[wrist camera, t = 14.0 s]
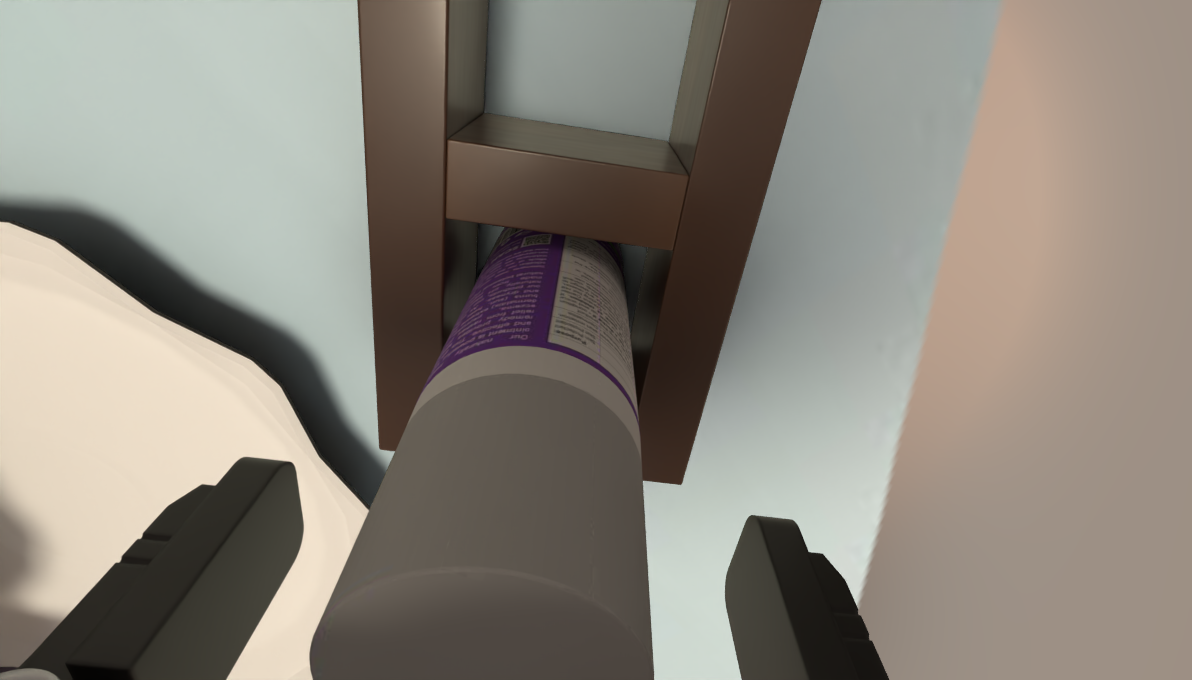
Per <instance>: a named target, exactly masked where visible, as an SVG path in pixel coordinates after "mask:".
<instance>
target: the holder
mask: <svg viewBox="0 0 1192 680" xmlns="http://www.w3.org/2000/svg"><path fill="white" fill-rule="evenodd" d="M821 1H822V0H697V2H696V7H695V12H694V17H693V22H692V27H691V32H690V37H689V42H688V47H687V52H686V57H685V62H684V67H683V72H682V77H681V83H680V88H679V93H678V98H677V103H676V108H675V113H674V118H673V123H672V128H671V133H670V138H669V142H668V141H662V140H656V139H650V138H643V137H637V136H630V135H624V134H617V133H611V132H604V131H598V130H591V129H585V128H578V127H572V126H566V125H559V124H553V123H546V122H540V121H533V120H527V119H520V118H514V117H507V116H501V115H494V114H488V113H484V114H483V111H484V90H485V68H486V47H487V26H488V4H489V0H357V2H358V22H359V43H360V63H361V84H362V104H363V125H364V146H365V166H366V187H367V207H368V228H369V248H370V269H371V289H372V310H373V330H374V351H375V372H376V392H377V413H378V433H379V448H380V449H381V450H388V451H396V449H397V447H398V444H399V442H400V440H401V438H402V435H403V433H404V431H405V428H406V426H407V424H408V422H409V419H410V417H411V415H412V412H413V410H414V408H415V405H416V403H417V400H418V398H419V396H420V394H421V392H422V390H423V388H424V386H425V384H426V382H427V380H428V378H429V376H430V374H431V372H432V370H433V368H434V366H435V364H436V362H437V360H438V358H439V356H440V354H441V352H442V350H443V348H444V346H445V344H446V342H447V340H448V338H449V336H450V334H451V332H452V330H453V328H454V326H455V324H456V322H457V320H458V318H459V316H460V314H461V312H462V310H463V308H464V306H465V304H466V302H467V300H468V298H469V296H470V294H471V292H472V290H473V288H474V286H475V282H476V260H477V239H478V223H481V224H488V225H495V226H502V227H509V228H516V229H523V230H530V231H537V232H544V233H551V234H558V235H565V236H572V237H579V238H586V239H593V240H600V241H607V242H614V243H621V244H628V245H635V246H642V247H648V249H647V254H646V259H645V264H644V269H643V274H642V279H641V284H640V289H639V294H638V299H637V304H636V309H635V314H634V319H633V325H632V330H631V335H630V339H631V349H632V359H633V369H634V378H635V388H636V398H637V408H638V418H639V428H640V438H641V461H642V479H643V481H652V482H660V483H669V484H678V485H681V484H682V482H683V478H684V475H685V471H686V468H687V464H688V461H689V457H690V454H691V451H692V447H693V444H694V440H695V437H696V433H697V430H698V426H699V423H700V419H701V416H702V413H703V409H704V406H705V402H706V399H707V395H708V392H709V388H710V385H711V381H712V378H713V375H714V371H715V368H716V364H717V361H718V357H719V354H720V350H721V347H722V343H723V340H724V336H725V333H726V330H727V326H728V323H729V319H730V316H731V312H732V309H733V305H734V302H735V298H736V295H737V292H738V288H739V285H740V281H741V278H742V274H743V271H744V267H745V264H746V260H747V257H748V254H749V250H750V247H751V243H752V240H753V236H754V233H755V229H756V226H757V222H758V219H759V215H760V212H761V209H762V205H763V202H764V198H765V195H766V191H767V188H768V184H769V181H770V177H771V174H772V171H773V167H774V164H775V160H776V157H777V153H778V150H779V146H780V143H781V139H782V136H783V133H784V129H785V126H786V122H787V119H788V115H789V112H790V108H791V105H792V101H793V98H794V95H795V91H796V88H797V84H798V81H799V77H800V74H801V70H802V67H803V63H804V60H805V56H806V53H807V50H808V46H809V43H810V39H811V36H812V32H813V29H814V25H815V22H816V18H817V15H818V12H819V8H820V5H821Z"/></svg>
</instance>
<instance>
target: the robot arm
mask: <svg viewBox="0 0 1192 680" xmlns="http://www.w3.org/2000/svg"><path fill="white" fill-rule="evenodd" d="M303 533H304V521H303V514H302V508H301V501H300V494H299V487H298V480H297V473H296V468H295V466H294V464H293V463H292V462H289V461H281V460H272V459H263V458H254V457H242V458H240V459H239V460H238V461H236V462H235V463H234V464H233V466H232V467H231V468H230V469H229V470H228V472H227V473H226V474H225V475H224V476H223V477H222V479H221V480H220V481H219V482H218V483H217V484H216V486H215V485H206V484H201V485H200V486H198V487H197V488H195V489H193V490H192V491H190V492H189V493H187V494H186V495H184V496H182V497H181V498H179V499H178V500H176V501H175V502H173V503H171V504H170V505H168V506H167V507H166V508H165V509H164V510H163V512H162V513H161V514H160V515H159V516H158V517H157V518H156V519H155V520H154V521H153V522H152V524H151V525H150V526H149V527H148V528H147V529H146V530H145V531H144V532H143V536H142V538H141V539H137V540H136V541H135V542H134V543H133V544H132V545H131V546H130V548H129V549H128V550H127V551H126V552H125V553H124V554H123V555H122V556H121V557H122V558H121V561H120V562H119V563H115V564H114V565H113V566H112V567H111V568H110V569H109V570H108V572H107V573H106V574H105V575H104V576H103V577H102V578H101V579H100V580H99V581H98V582H97V584H96V585H95V586H94V587H93V588H92V589H91V590H90V591H89V592H88V593H87V594H86V596H85V597H84V598H83V599H82V600H81V601H80V602H79V603H78V604H77V605H76V606H75V608H74V609H73V610H72V611H71V612H70V613H69V614H68V615H67V616H66V617H65V619H64V620H63V621H62V622H61V623H60V624H59V625H58V626H57V627H56V628H55V629H54V631H53V632H52V633H51V634H50V635H49V636H48V637H47V638H46V639H45V640H44V641H43V643H42V644H41V645H40V646H39V647H38V648H37V649H36V650H35V651H34V652H33V653H32V654H31V655H30V656H29V657H28V658H27V659H26V660H25V661H24V662H23V663H22V664H21V665H20V666H19V667H18V668H17V669H15V670H12V671H7V672H3V673H0V680H226V679H227V677H228V676H229V674H230V672H231V671H232V669H233V667H234V665H235V664H236V662H237V660H238V658H239V657H240V655H241V653H242V652H243V650H244V648H245V646H246V645H247V643H248V641H249V640H250V638H251V636H252V634H253V633H254V631H255V629H256V627H257V626H258V624H259V622H260V621H261V619H262V617H263V615H264V614H265V612H266V610H267V608H268V607H269V605H270V603H271V602H272V600H273V598H274V596H275V595H276V593H277V591H278V590H279V588H280V586H281V584H282V583H283V581H284V579H285V577H286V576H287V574H288V572H289V571H290V569H291V567H292V565H293V564H294V562H295V560H296V558H297V555H298V553H299V550H300V547H301V544H302V539H303ZM725 601H726V608H727V613H728V618H729V622H730V627H731V632H732V636H733V641H734V646H735V650H736V655H737V660H738V664H739V669H740V673H741V678H742V680H889V678H888V676H887V673H886V671H885V669H884V667H883V665H882V662H881V660H880V658H879V655H878V653H877V651H876V649H875V646H874V644H873V642H872V641H870V640H869V633H868V631H867V628H866V626H865V624H864V622H863V619H862V617H861V616H860V615H858V608H857V606H856V603H855V601H854V599H853V597H852V594H851V592H850V590H849V588H848V585H847V583H846V581H845V579H844V578H843V577H842V576H841V575H840V573H839V572H838V571H837V570H836V569H835V568H834V566H833V565H832V564H831V563H830V562H829V561H828V559H827V558H826V557H825V556H824V555H823V554H820V553H811V552H808V549H807V547H806V544H805V542H804V539H803V537H802V534H801V532H800V529H799V527H798V525H797V524H796V522H795V521H793V520H790V519H781V518H773V517H764V516H755V515H751V516H749V517H748V519H747V520H746V523H745V525H744V528H743V531H742V533H741V536H740V539H739V541H738V544H737V547H736V549H735V552H734V555H733V558H732V560H731V563H730V566H729V568H728V571H727V575H726V582H725Z"/></svg>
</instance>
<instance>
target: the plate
mask: <svg viewBox="0 0 1192 680" xmlns="http://www.w3.org/2000/svg"><path fill="white" fill-rule="evenodd" d="M242 457H254V458H263V459H272V460H281V461H289V462H292V463H293V464H294V466H295V468H296V473H297V480H298V487H299V494H300V501H301V508H302V514H303V521H304V533H303V539H302V544H301V547H300V550H299V553H298V555H297V558H296V560H295V562H294V564H293V565H292V567H291V569H290V571H289V572H288V574H287V576H286V577H285V579H284V581H283V583H282V584H281V586H280V588H279V590H278V591H277V593H276V595H275V596H274V598H273V600H272V602H271V603H270V605H269V607H268V608H267V610H266V612H265V614H264V615H263V617H262V619H261V621H260V622H259V624H258V626H257V627H256V629H255V631H254V633H253V634H252V636H251V638H250V640H249V641H248V643H247V645H246V646H245V648H244V650H243V652H242V653H241V655H240V657H239V658H238V660H237V662H236V664H235V665H234V667H233V669H232V671H231V672H230V674H229V676H228V677H227V679H226V680H313V678H312V675H311V671H310V661H309V652H310V646H311V642H312V638H313V635H314V633H315V631H316V629H317V626H318V624H319V622H320V620H321V617H322V615H323V613H324V611H325V608H326V606H327V604H328V602H329V599H330V597H331V595H332V593H333V590H334V588H335V586H336V584H337V581H338V579H339V577H340V575H341V573H342V570H343V568H344V566H345V564H346V561H347V559H348V557H349V555H350V552H351V550H352V548H353V546H354V543H355V541H356V539H357V537H358V534H359V532H360V530H361V528H362V525H363V523H364V521H365V519H366V516H367V514H368V512H369V510H370V507H369V506H368V505H367V503H366V502H365V501H364V500H363V499H362V498H361V497H360V496H359V495H358V494H357V493H356V492H355V490H354V489H353V488H352V487H351V486H350V485H349V484H348V483H347V482H346V481H345V480H344V479H343V478H342V476H341V475H340V474H339V473H338V472H337V471H336V470H335V469H334V468H333V467H332V466H331V465H330V464H329V462H328V461H327V460H326V459H325V458H324V457H323V456H322V455H321V454H320V452H319V450H318V448H317V446H316V444H315V443H314V441H313V439H312V437H311V435H310V433H309V432H308V430H307V428H306V426H305V424H304V422H303V420H302V419H301V417H300V415H299V413H298V411H297V409H296V408H295V406H294V404H293V402H292V400H291V398H290V397H289V395H288V393H287V391H286V389H285V387H284V386H283V384H282V383H281V382H280V381H279V380H278V379H277V378H276V377H274V376H273V375H272V374H271V373H270V372H269V371H268V370H267V369H266V368H265V367H263V366H262V365H261V364H260V363H259V362H258V361H257V360H256V359H255V358H253V357H251V356H249V355H247V354H245V353H243V352H241V351H239V350H237V349H235V348H233V347H231V346H229V345H226V344H224V343H222V342H220V341H218V340H216V339H214V338H212V337H210V336H208V335H206V334H204V333H202V332H200V331H198V330H196V329H194V328H192V327H189V326H187V325H185V324H183V323H181V322H179V321H177V320H175V319H173V318H171V317H169V316H167V315H165V314H163V313H161V312H159V311H157V310H155V309H154V308H153V307H151V306H150V305H149V304H147V303H146V302H144V301H143V300H142V299H140V298H139V297H138V296H136V295H135V294H134V293H132V292H131V291H129V290H128V289H127V288H125V287H124V286H123V285H121V284H120V283H119V282H117V281H116V280H114V279H113V278H112V277H110V276H109V275H108V274H106V273H105V272H104V271H102V270H101V269H99V268H98V267H97V266H95V265H94V264H93V263H91V262H90V261H89V260H87V259H86V258H84V257H83V256H82V255H80V254H79V253H78V252H76V251H75V250H74V249H72V248H71V247H69V246H68V245H67V244H65V243H64V242H63V241H61V240H60V239H58V238H55V237H53V236H50V235H47V234H45V233H42V232H40V231H37V230H35V229H32V228H30V227H27V226H25V225H22V224H20V223H17V222H14V221H3V220H0V667H19V666H20V665H21V664H22V663H23V662H24V661H25V660H26V659H27V658H28V657H29V656H30V655H31V654H32V653H33V652H34V651H35V650H36V649H37V648H38V647H39V646H40V645H41V644H42V643H43V641H44V640H45V639H46V638H47V637H48V636H49V635H50V634H51V633H52V632H53V631H54V629H55V628H56V627H57V626H58V625H59V624H60V623H61V622H62V621H63V620H64V619H65V617H66V616H67V615H68V614H69V613H70V612H71V611H72V610H73V609H74V608H75V606H76V605H77V604H78V603H79V602H80V601H81V600H82V599H83V598H84V597H85V596H86V594H87V593H88V592H89V591H90V590H91V589H92V588H93V587H94V586H95V585H96V584H97V582H98V581H99V580H100V579H101V578H102V577H103V576H104V575H105V574H106V573H107V572H108V570H109V569H110V568H111V567H112V566H113V565H114V564H115V563H119V562H120V561H121V558H122V557H121V556H122V555H123V554H124V553H125V552H126V551H127V550H128V549H129V548H130V546H131V545H132V544H133V543H134V542H135V541H136V540H137V539H141V538H142V536H143V532H144V531H145V530H146V529H147V528H148V527H149V526H150V525H151V524H152V522H153V521H154V520H155V519H156V518H157V517H158V516H159V515H160V514H161V513H162V512H163V510H164V509H165V508H166V507H167V506H168V505H170V504H171V503H173V502H175V501H176V500H178V499H179V498H181V497H182V496H184V495H186V494H187V493H189V492H190V491H192V490H193V489H195V488H197V487H198V486H200V485H201V484H206V485H215V486H216V484H217V483H218V482H219V481H220V480H221V479H222V477H223V476H224V475H225V474H226V473H227V472H228V470H229V469H230V468H231V467H232V466H233V464H234V463H235V462H236V461H238V460H239V459H240V458H242Z"/></svg>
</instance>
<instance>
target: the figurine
mask: <svg viewBox="0 0 1192 680" xmlns="http://www.w3.org/2000/svg"><path fill="white" fill-rule="evenodd" d="M17 668H18V667H0V673H3V672H7V671H12V670H15V669H17Z"/></svg>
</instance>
